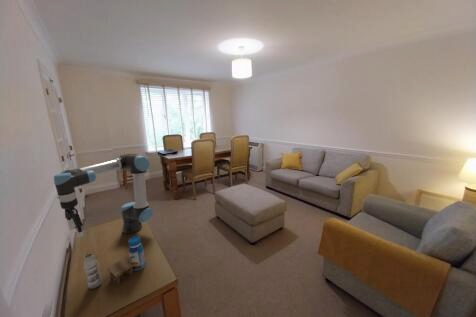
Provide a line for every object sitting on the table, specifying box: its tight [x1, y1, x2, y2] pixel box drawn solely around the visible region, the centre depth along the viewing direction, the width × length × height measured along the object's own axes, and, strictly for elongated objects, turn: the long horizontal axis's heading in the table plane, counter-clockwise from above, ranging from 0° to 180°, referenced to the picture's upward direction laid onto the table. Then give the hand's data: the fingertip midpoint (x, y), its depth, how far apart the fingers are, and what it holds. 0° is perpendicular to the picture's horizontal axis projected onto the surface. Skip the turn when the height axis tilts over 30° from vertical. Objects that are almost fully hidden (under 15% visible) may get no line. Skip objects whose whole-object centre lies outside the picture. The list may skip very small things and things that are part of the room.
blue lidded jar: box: [127, 235, 147, 272], centre depth 125 cm, size 8×8×20 cm
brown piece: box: [106, 257, 134, 286], centre depth 118 cm, size 10×10×7 cm
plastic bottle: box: [83, 253, 103, 290], centre depth 111 cm, size 6×7×20 cm
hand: (76, 232), depth 117 cm, fingers open, 13 cm apart
